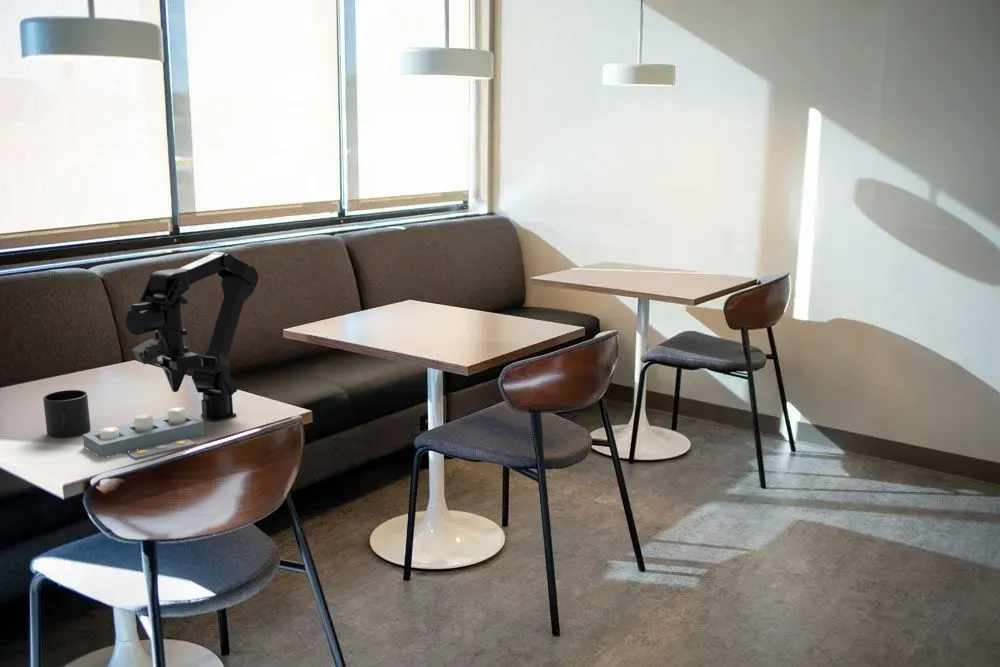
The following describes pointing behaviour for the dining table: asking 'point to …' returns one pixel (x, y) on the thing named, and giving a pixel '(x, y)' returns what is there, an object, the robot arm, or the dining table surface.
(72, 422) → the mug
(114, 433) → the button
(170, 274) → the robot arm
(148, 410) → the dining table surface
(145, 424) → the button mid
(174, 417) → the button
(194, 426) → the button board
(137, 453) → the card
